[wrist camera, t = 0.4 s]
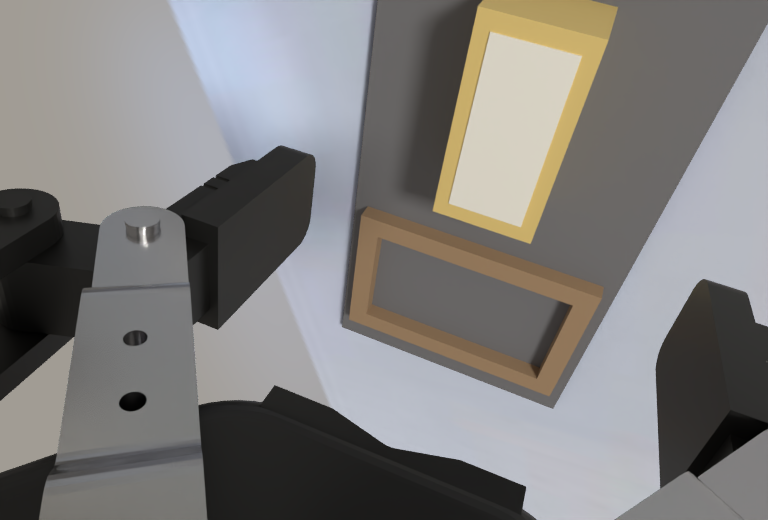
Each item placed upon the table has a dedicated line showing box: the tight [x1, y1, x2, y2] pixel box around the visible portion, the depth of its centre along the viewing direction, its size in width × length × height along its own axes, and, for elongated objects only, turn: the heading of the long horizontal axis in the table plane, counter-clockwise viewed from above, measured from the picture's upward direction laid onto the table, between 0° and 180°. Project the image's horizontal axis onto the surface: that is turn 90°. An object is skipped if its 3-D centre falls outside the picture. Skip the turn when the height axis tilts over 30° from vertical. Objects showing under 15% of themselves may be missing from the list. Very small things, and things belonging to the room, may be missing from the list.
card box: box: [433, 0, 618, 244], centre depth 27 cm, size 10×5×4 cm, turn 173°
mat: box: [342, 0, 768, 409], centre depth 33 cm, size 28×16×2 cm, turn 173°
